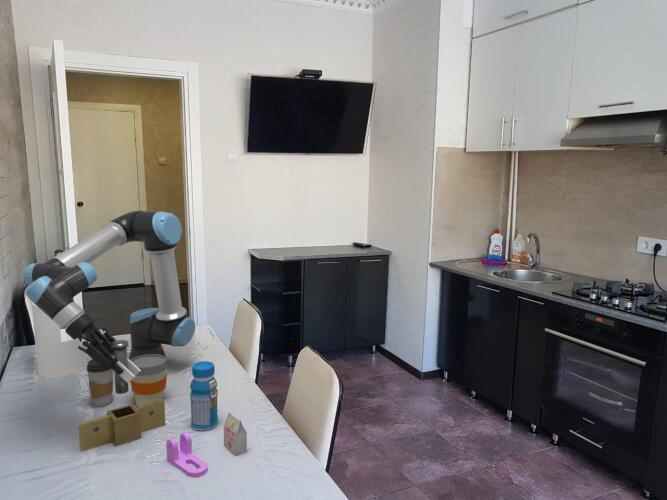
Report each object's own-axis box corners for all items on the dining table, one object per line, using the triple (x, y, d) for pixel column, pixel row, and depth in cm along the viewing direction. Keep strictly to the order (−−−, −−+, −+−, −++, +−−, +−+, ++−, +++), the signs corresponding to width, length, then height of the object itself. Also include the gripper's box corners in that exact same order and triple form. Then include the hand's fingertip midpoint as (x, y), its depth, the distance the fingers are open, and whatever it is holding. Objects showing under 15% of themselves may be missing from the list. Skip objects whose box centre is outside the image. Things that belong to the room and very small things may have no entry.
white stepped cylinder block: (37, 381, 186) (31, 308, 182) (37, 365, 201) (32, 298, 196) (88, 372, 195) (84, 303, 190) (85, 357, 210) (81, 293, 205)
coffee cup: (120, 399, 173) (118, 358, 170) (102, 410, 165) (100, 367, 163) (101, 395, 175) (99, 355, 173) (83, 406, 168) (80, 363, 165)
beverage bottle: (194, 434, 152) (192, 372, 148) (188, 421, 159) (186, 362, 156) (221, 428, 155) (220, 367, 152) (214, 416, 163) (213, 358, 160)
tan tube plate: (160, 419, 160) (159, 396, 158) (169, 428, 154) (168, 404, 153) (77, 445, 144) (75, 419, 143) (84, 456, 139) (82, 430, 137)
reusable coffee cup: (176, 398, 175) (175, 357, 172) (149, 413, 164) (147, 370, 161) (149, 390, 180) (148, 351, 178) (121, 405, 169) (119, 363, 166)
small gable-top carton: (235, 441, 148) (234, 410, 146) (246, 451, 143) (246, 419, 141) (224, 445, 146) (223, 414, 144) (235, 456, 141) (235, 423, 139)
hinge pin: (127, 386, 150) (125, 339, 148) (132, 391, 146) (130, 343, 144) (111, 390, 147) (109, 342, 145) (116, 396, 144) (113, 346, 141)
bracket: (166, 460, 138) (166, 437, 137) (184, 452, 142) (183, 430, 141) (193, 480, 129) (193, 456, 128) (211, 471, 134) (211, 447, 133)
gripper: (80, 321, 152) (136, 373, 155) (50, 339, 136) (113, 397, 138) (97, 304, 151) (153, 357, 154) (68, 321, 135) (131, 380, 137)
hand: (134, 376), depth 146 cm, fingers closed on hinge pin, 3 cm apart
